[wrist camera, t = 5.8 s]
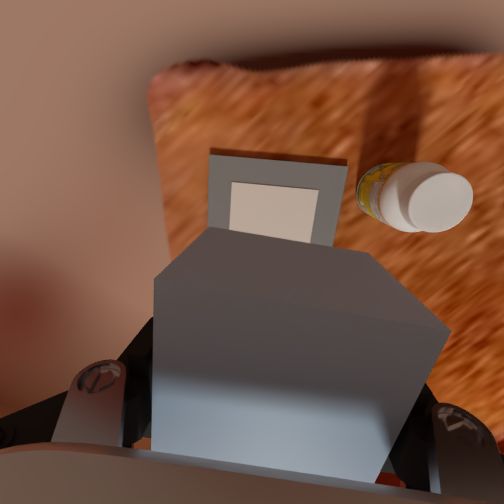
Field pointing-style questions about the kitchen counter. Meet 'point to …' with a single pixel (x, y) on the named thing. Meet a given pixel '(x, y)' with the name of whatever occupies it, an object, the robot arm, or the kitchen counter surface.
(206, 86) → the kitchen counter surface
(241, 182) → the base plate
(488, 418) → the kitchen counter surface
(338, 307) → the light blue block
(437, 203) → the supplement bottle
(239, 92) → the kitchen counter surface
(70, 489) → the robot arm
